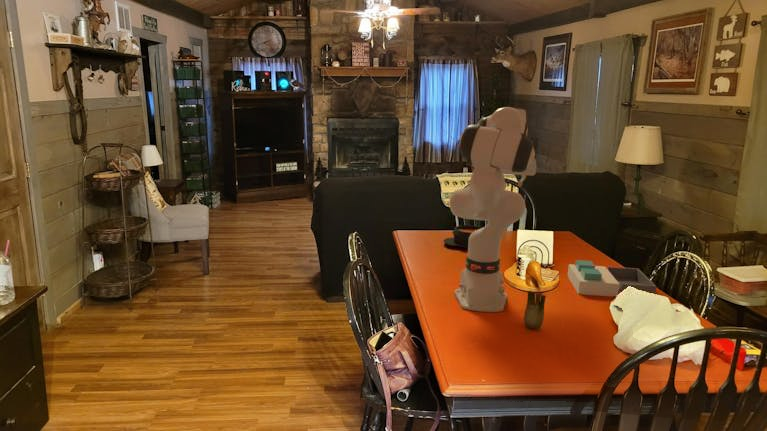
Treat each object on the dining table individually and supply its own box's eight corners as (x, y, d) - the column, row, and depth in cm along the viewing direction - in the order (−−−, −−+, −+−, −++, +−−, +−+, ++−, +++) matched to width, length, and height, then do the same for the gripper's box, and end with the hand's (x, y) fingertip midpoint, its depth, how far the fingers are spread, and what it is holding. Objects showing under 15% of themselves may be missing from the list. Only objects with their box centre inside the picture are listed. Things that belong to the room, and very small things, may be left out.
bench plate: (617, 296, 199) (619, 283, 198) (578, 294, 201) (579, 281, 199) (603, 278, 218) (605, 266, 217) (567, 275, 220) (568, 264, 219)
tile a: (601, 280, 200) (601, 274, 200) (584, 279, 201) (584, 273, 201) (596, 275, 206) (597, 269, 206) (580, 274, 207) (581, 268, 206)
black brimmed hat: (490, 240, 269) (491, 224, 267) (500, 251, 251) (502, 234, 249) (440, 240, 267) (441, 223, 265) (446, 251, 249) (447, 233, 247)
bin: (654, 299, 197) (656, 286, 196) (618, 296, 199) (620, 283, 198) (636, 280, 217) (638, 268, 216) (604, 278, 218) (605, 266, 217)
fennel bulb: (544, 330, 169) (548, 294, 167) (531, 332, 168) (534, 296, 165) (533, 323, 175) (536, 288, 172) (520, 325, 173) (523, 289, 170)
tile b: (594, 272, 210) (595, 265, 209) (578, 271, 211) (579, 264, 210) (590, 267, 216) (591, 261, 215) (575, 266, 217) (575, 260, 216)
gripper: (484, 150, 206) (480, 185, 210) (539, 153, 204) (534, 188, 208) (483, 146, 211) (479, 181, 216) (536, 149, 209) (532, 184, 214)
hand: (507, 184), depth 212 cm, fingers open, 8 cm apart
